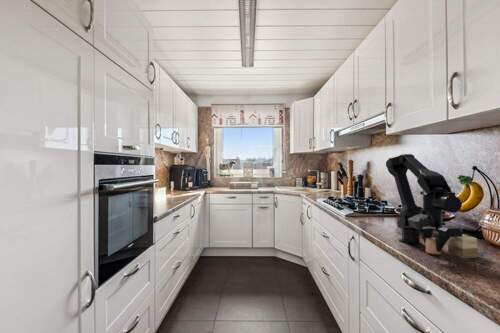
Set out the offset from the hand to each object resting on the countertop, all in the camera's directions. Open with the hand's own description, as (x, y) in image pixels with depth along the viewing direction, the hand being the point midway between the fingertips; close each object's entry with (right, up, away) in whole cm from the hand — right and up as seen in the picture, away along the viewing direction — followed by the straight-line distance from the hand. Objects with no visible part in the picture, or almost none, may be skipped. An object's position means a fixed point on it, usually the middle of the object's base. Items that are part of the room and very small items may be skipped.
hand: (433, 249), depth 94 cm
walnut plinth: (+10, -2, -1) cm, 11 cm away
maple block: (+10, +2, -1) cm, 11 cm away
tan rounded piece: (0, -1, 0) cm, 1 cm away
